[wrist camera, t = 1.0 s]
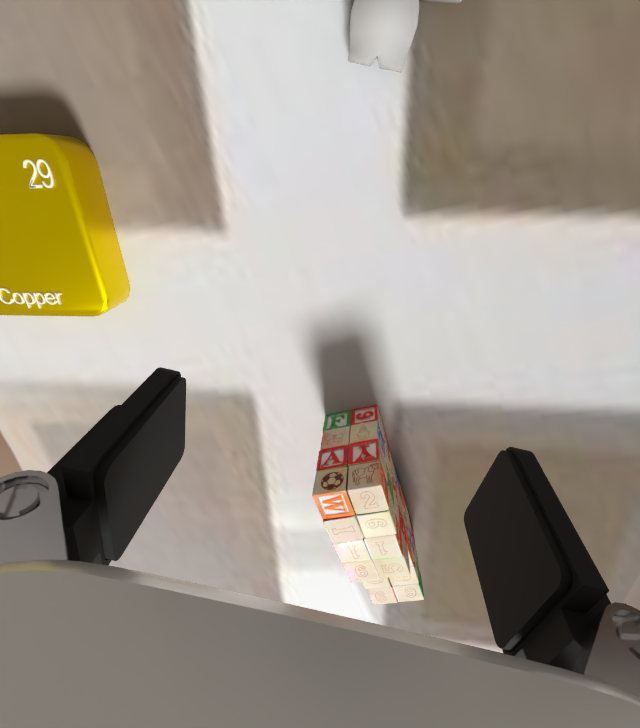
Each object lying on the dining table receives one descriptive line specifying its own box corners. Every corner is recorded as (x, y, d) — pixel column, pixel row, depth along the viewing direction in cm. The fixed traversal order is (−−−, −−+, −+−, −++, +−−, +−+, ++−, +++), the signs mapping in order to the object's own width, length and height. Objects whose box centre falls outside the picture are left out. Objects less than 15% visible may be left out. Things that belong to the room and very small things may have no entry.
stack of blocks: (414, 531, 51) (429, 630, 40) (369, 536, 53) (371, 633, 42) (377, 402, 42) (382, 486, 31) (323, 413, 44) (310, 497, 33)
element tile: (5, 301, 41) (-35, 317, 37) (-64, 141, 34) (-124, 138, 30) (136, 302, 40) (109, 319, 35) (93, 135, 33) (53, 131, 28)
